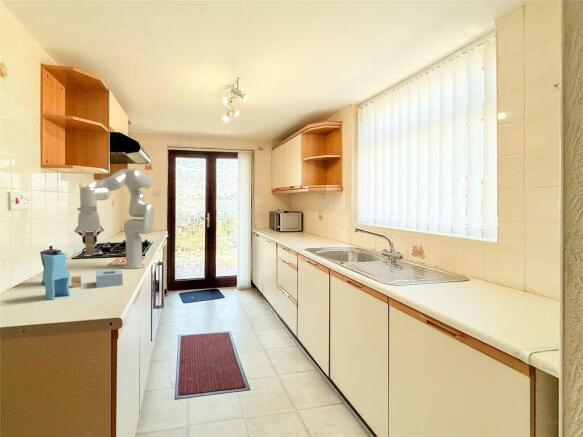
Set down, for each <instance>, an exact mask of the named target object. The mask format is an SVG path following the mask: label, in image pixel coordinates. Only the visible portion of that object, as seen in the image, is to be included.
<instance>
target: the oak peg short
mask: <svg viewBox="0 0 583 437" xmlns="http://www.w3.org/2000/svg"><path fill="white" fill-rule="evenodd" d="M70 280H71V282H70V283H71V289H72V288H73V289H75V288H81V287H82V276H81V275H76V276H71V277H70Z"/></svg>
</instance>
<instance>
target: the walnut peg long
mask: <svg viewBox="0 0 583 437" xmlns="http://www.w3.org/2000/svg"><path fill="white" fill-rule="evenodd" d="M94 235H95V234H94V231H85V244H84V245H85V247H84V248H85V256H88V255H89V256H90V255H93V256H94V255H95V244H94Z"/></svg>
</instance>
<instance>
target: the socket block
mask: <svg viewBox="0 0 583 437" xmlns="http://www.w3.org/2000/svg"><path fill="white" fill-rule="evenodd" d="M122 271H123V270H122V269H121V268H120V269H110V270H99V271H97V270H96V271H95V278H96V279H95V281H96V284H95V285H96V289H99V288H107V287H108V288H109V287H117V286H123V285H124V284H123V272H122Z"/></svg>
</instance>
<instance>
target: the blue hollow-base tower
mask: <svg viewBox="0 0 583 437" xmlns="http://www.w3.org/2000/svg"><path fill="white" fill-rule="evenodd" d="M68 255H69V253H66V252H62V251H61V252H58V255H54V256H49V255H44V254H43V255H42V257H43V259H44V262H45V271H44V270H43V271H44V274H43V273H42V280H43V281H44V284H43V285H44V288H45V293H44V294H45V295H44V299H47V300H50V301H53V300H55V298H56V297H55V296H58V295H64V296H67V297H71V291H70V288H69V287H70V285H69V284H70V280H71V274H70V271H69V269H68V267H67V260H68Z"/></svg>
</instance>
